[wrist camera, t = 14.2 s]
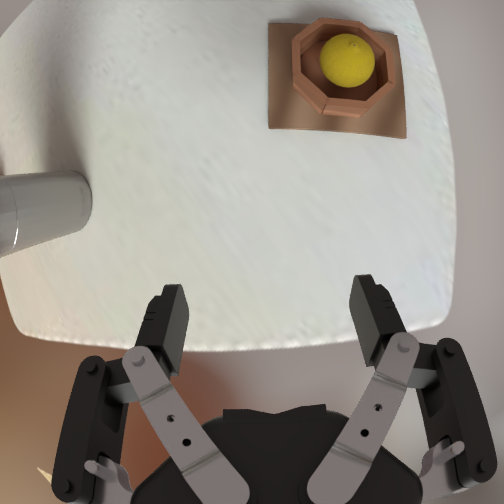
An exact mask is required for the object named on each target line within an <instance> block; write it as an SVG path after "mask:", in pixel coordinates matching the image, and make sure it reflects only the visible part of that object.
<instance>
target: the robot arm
mask: <svg viewBox="0 0 504 504" xmlns="http://www.w3.org/2000/svg"><path fill="white" fill-rule="evenodd" d="M91 208H92V198H91V192H90V188H89V186H88V184H87V182H86V180H85V179H84V177H83V176H81V175H80V174H79V173H77V172H74V171H61V172H42V173H28V174H16V175H5V176H0V258H1V257H4V256H6V255H9V254H12V253H14V252H17V251H20V250H23V249H26V248H29V247H31V246H34V245H37V244H40V243H43V242H46V241H49V240H52V239H55V238H58V237H62V236H65V235H68V234H71V233H74V232H77V231H79V230H81V229H82V228H83V227H84V226H85V225H86V223H87V221H88V219H89V217H90V214H91ZM349 307H350V312H351V316H352V319H353V322H354V325H355V329H356V332H357V335H358V339H359V342H360V346H361V349H362V353H363V356H364V360H365V364H366V367H369V366H374V367H375V373H374V375H373V377H372V379H371V381H370V383H369V385H368V386H367V388H366V390H365V392H364V394H363V396H362V398H361V399H360V401H359V403H358V405H357V407H356V408H355V410H354V412H353V414H352V415H351V417H350V418H348V417H347V416H345V415H343V414H340V413H338V412H334V411H329V410H326V405H325V404H320V405H311V406H301V407H298V408H294V409H291V410H288V411H285V412H281V413H278V414H270V413H265V412H259V411H254V410H250V409H223V416H219V417H216V418H213V419H211V420H209V421H207V422H205V423H204V424H202V425H201V426H200V424H199V423H198V422H197V420H196V419H195V418H194V416H193V415H192V413H191V412H190V411H189V409H188V408H187V406H186V405H185V403H184V402H183V400H182V399H181V397H180V396H179V395H178V393H177V391H176V390H175V388H174V387H173V385H172V384H171V383H170V376H178V373H179V369H180V363H181V358H182V352H183V347H184V341H185V336H186V331H187V326H188V321H189V308H188V305H187V301H186V298H185V294H184V291H183V288H182V285H181V284H169V285H165V286H164V288H163V291H162V294H161V296H155V297H154V298H153V299H152V300H151V301H150V302H149V304H148V307H147V310H146V314H145V316H144V321H143V322H142V325H141V328H140V331H139V334H138V337H137V340H136V344H135V346H134V347H133V348H131V349H129V350H128V351H127V352H126V353H125V354H124V356H123V358H120V359H116V360H112V361H107V362H105V361H104V360H103V359H102V358H101V357H99V356H90V357H87V358H86V359H84V361H82V363H81V365H80V366H79V369H78V372H77V375H76V378H75V382H74V385H73V388H72V392H71V396H70V399H69V402H68V406H67V410H66V414H65V418H64V422H63V426H62V430H61V435H60V439H59V443H58V448H57V453H56V458H55V464H54V469H53V475H52V482H51V486H52V490H53V492H54V494H55V496H56V497H57V498H58V499H59V500H61V501H63V502H65V503H68V504H421V503H423V502H426V501H429V500H432V499H435V498H438V497H449V496H452V495H455V494H458V493H460V492H463V491H465V490H468V489H470V488H473V487H475V486H477V485H480V484H482V483H484V482H486V481H488V480H489V479H490V478H491V477H492V476H493V475H494V474H495V471H496V469H497V457H496V452H495V448H494V444H493V440H492V436H491V432H490V428H489V425H488V421H487V418H486V414H485V411H484V407H483V404H482V401H481V398H480V395H479V392H478V389H477V386H476V383H475V381H474V378H473V375H472V372H471V370H470V367H469V365H468V362H467V360H466V357H465V355H464V352H463V350H462V348H461V346H460V344H459V343H458V342H457V341H455V340H454V339H451V338H443V339H441V340H439V342H438V343H437V345H431V344H423V343H419V342H418V341H417V339H416V338H415V337H414V336H413V335H411V334H409V333H407V332H406V329H405V327H404V325H403V322H402V320H401V318H400V315H399V313H398V311H397V309H396V308H395V304H394V302H393V301H392V298H391V295H390V293H389V291H388V290H387V289H386V288H385V287H384V286H382V285H381V284H378V285H376V284H375V282H374V280H373V277H372V276H371V275H370V274H367V275H355V276H354V280H353V285H352V290H351V294H350V300H349ZM407 387H409V388H416V392H417V396H418V400H419V404H420V408H421V412H422V416H423V421H424V426H425V430H426V435H427V441H428V446H429V450H428V451H427V452H426V453H425V455H424V456H423V459H422V469H421V472H420V474H419V476H418V475H417V474H416V473H415V472H414V471H413V470H411V469H410V468H408V467H407V466H406V465H405V464H404V463H402V462H401V461H400V460H399V459H398V458H396V457H395V456H394V455H392V454H391V453H390V452H389V451H388V450H387V449H385V448H384V447H383V446H382V442H383V441H384V439H385V437H386V435H387V433H388V430H389V429H390V426H391V424H392V422H393V420H394V418H395V416H396V413H397V411H398V409H399V407H400V405H401V402H402V400H403V398H404V395H405V393H406V390H407ZM134 401H139V402H140V404H141V406H142V409H143V410H144V412H145V414H146V416H147V417H148V419H149V421H150V423H151V425H152V426H153V428H154V430H155V431H156V433H157V435H158V437H159V438H160V440H161V441H162V443H163V445H164V446H165V448H166V449H167V451H168V452H169V454H170V456H169V457H168V458H167V460H166V461H164V462H163V463H162V464H161V465H160V466H159V467H158V468H157V469H156V470H155V471H154V472H153V473H152V474H151V475H149V476H148V477H147V478H146V479H145V480H144V481H143V482H142V483H141V484H140V485H139V486H138V487H137V488H136V489H135V490H134V491H133V490H132V489H131V487H130V484H129V476H128V473H127V471H126V470H125V469H124V468H123V467H122V466H120V458H121V451H122V444H123V437H124V429H125V423H126V417H127V411H128V405H129V403H130V402H134Z"/></svg>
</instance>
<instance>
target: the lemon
mask: <svg viewBox="0 0 504 504" xmlns="http://www.w3.org/2000/svg"><path fill="white" fill-rule="evenodd" d="M319 60H320V67H321V69H322V72H323V74H324V75H325V76H326V78H327V79H328V80H330V81H331V82H332V83H334V84H336V85H338V86H341V87H348V88H350V87H356V86H359V85H361V84H363V83H364V82H365V81H367V80H368V79H369V77H370V76H371V74H372V72H373V69H374V65H375V58H374V54H373V51H372V49H371V47H370V46H369V44H368V43H367V42H366V41H365V40H363V39H362V38H360V37H358V36H356V35H352V34H340V35H336V36H334V37H332V38H331V39H330V40H329V41H327V42H326V43H325V45H324V46H323V48H322V50H321V53H320V59H319Z"/></svg>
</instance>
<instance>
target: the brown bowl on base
mask: <svg viewBox="0 0 504 504" xmlns="http://www.w3.org/2000/svg"><path fill="white" fill-rule="evenodd" d="M268 31H269V129H296V130H319V131H334V132H347V133H358V134H368V135H376V136H385V137H392V138H399V139H406V138H407V137H406V111H405V96H404V84H403V74H402V66H401V58H400V51H399V44H398V38H397V35H393V34H388V33H382V32H377V31H371V30H370V29H369V28H368V27H367V26H365V25H364V24H363V23H360V22H357V21H350V20H341V19H331V18H321V19H320V18H319V19H318V20H316V21H315V22H314V23H312V24H291V23H272V24H268ZM340 34H352V35H356V36H358V37H360V38H362V39H363V40H365V41H366V42H367V43H368V44H369V46H370V47H371V49H372V51H373V54H374V58H375V65H374V69H373V72H372V74H371V76H370V77H369V79H368V80H367V81H365V82H364V83H363V84H361V85H359V86H356V87H350V88H348V87H341V86H338V85H336V84H334V83H332V82H331V81H330V80H328V79H327V78H326V76H325V75H324V74H323V72H322V69H321V67H320V60H319V59H320V53H321V50H322V48H323V46H324V45H325V43H326V42H327V41H329V40H330V39H331V38H332V37H334V36H336V35H340Z"/></svg>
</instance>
